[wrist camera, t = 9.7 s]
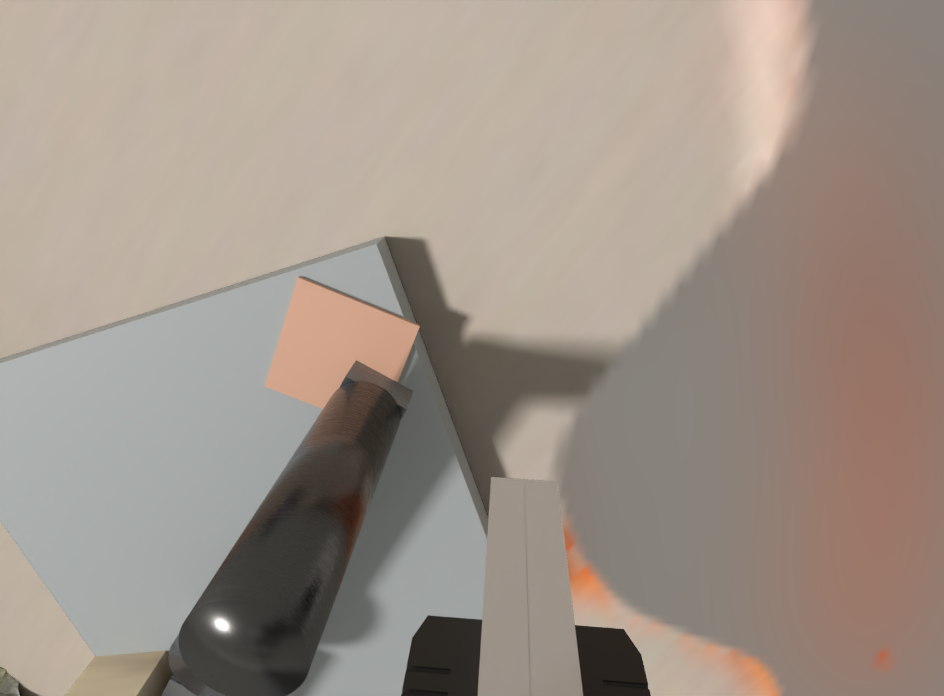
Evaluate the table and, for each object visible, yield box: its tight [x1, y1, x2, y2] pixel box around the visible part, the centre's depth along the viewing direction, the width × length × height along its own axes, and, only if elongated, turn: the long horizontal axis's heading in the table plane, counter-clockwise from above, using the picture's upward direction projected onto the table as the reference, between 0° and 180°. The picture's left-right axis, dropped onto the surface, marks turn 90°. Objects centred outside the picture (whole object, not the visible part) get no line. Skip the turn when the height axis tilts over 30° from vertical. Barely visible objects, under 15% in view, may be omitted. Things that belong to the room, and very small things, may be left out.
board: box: [0, 237, 488, 696], centre depth 29 cm, size 24×22×2 cm
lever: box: [161, 360, 413, 696], centre depth 21 cm, size 22×4×13 cm, turn 150°
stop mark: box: [265, 276, 420, 409], centre depth 24 cm, size 5×5×1 cm
